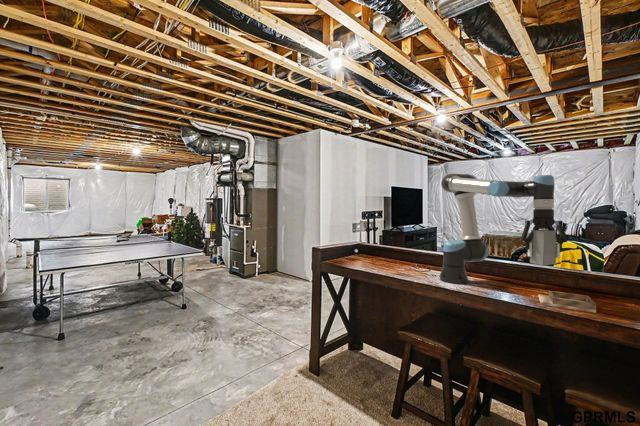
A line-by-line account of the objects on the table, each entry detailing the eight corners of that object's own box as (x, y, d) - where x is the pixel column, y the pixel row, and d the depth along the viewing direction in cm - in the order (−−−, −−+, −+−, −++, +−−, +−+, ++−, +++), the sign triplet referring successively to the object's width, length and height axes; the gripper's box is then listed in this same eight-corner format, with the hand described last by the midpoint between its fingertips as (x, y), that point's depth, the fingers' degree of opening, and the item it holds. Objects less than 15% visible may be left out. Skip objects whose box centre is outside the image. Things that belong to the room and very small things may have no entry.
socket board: (541, 304, 128) (541, 296, 127) (538, 296, 138) (538, 289, 138) (595, 312, 118) (596, 304, 118) (588, 303, 129) (588, 295, 129)
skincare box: (542, 262, 136) (542, 229, 136) (558, 264, 129) (558, 230, 129) (528, 263, 134) (528, 229, 134) (544, 265, 127) (544, 230, 127)
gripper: (517, 208, 131) (517, 256, 132) (577, 208, 124) (577, 259, 124) (512, 208, 139) (512, 254, 139) (569, 208, 131) (569, 257, 131)
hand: (543, 256), depth 131 cm, fingers closed on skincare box, 10 cm apart
